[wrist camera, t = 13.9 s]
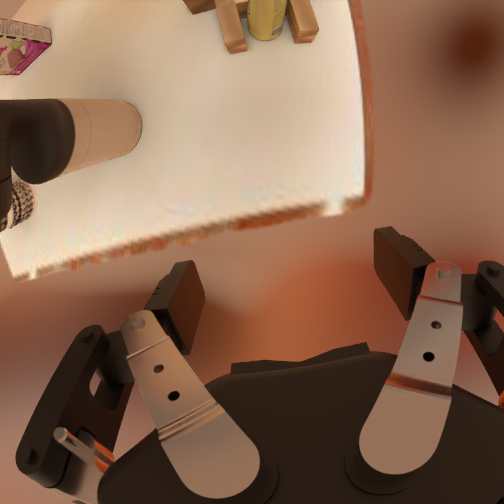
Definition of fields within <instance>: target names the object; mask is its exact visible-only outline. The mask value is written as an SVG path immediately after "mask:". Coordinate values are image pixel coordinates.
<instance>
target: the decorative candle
mask: <svg viewBox="0 0 504 504" xmlns="http://www.w3.org/2000/svg"><path fill="white" fill-rule="evenodd" d="M36 207H37V196H36V192H35V189H34V187H33V186H32V184H29V183H26V182H24V181H23V180H20V181H19V182H18V183H17V181H16V182H15V183H14V184H12V206H11V209H10V211H9V213H8V214H7V215H6V216H5V217H4V219H3V220H2V221H0V232H1V231H5V230H6V229H8V228H10V229H11V228H12V227H13V226H16V225H17V223H21V222H23V221H24V220H26V219H27V218H29V217H30V216H32V215H33V214H34V213H35V211H36Z"/></svg>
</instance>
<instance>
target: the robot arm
mask: <svg viewBox="0 0 504 504" xmlns="http://www.w3.org/2000/svg"><path fill="white" fill-rule="evenodd" d="M141 131H142V122H141V118H140V115H139V113H138V111H137V110H136V109H135V108H134V107H133V106H132V105H130V104H129V103H125V102H118V101H108V100H92V99H27V100H0V221H2V220H3V219H4V217H5V216H6V215H7V214H8V213H9V211H10V209H11V206H12V178H11V166H12V168H13V170H14V171H15V173H16V174H17V176H18V177H19V178H20V179H21V180H23V181H24V182H26V183H29V184H41V183H44V182H47V181H49V180H52V179H54V178H57V177H59V176H62V175H64V174H67V173H70V172H72V171H75V170H78V169H81V168H84V167H87V166H90V165H93V164H96V163H99V162H102V161H106V160H109V159H113V158H116V157H119V156H122V155H125V154H127V153H128V152H130V151H131V150H132V149H133V148H134V147H135V146H136V144H137V143H138V140H139V138H140V135H141ZM374 268H375V271H376V274H377V276H378V277H379V279H380V280H381V282H382V283H383V285H384V286H385V288H386V289H387V291H388V293H389V294H390V296H391V297H392V299H393V301H394V302H395V304H396V305H397V307H398V309H399V310H400V312H401V314H402V315H403V317H404V318H405V320H406V321H408V320H410V323H409V327H408V330H407V332H406V336H405V338H404V341H403V344H402V346H401V349H400V352H399V354H398V356H397V355H395V354H391V353H386V352H377V351H370V350H369V348H368V345H367V343H366V342H365V343H360V344H355V345H351V346H346V347H341V348H337V349H333V350H331V351H328V352H326V353H323V354H320V355H318V356H315V357H313V358H310V359H307V360H304V361H301V362H289V361H273V360H259V361H250V362H240V363H232V365H231V373H229V374H226V375H223V376H221V377H219V378H216V379H214V380H212V381H211V382H209V383H207V384H206V385H203V384H202V383H201V382H200V380H199V379H198V378H197V376H196V375H195V373H194V372H193V371H192V369H191V368H190V367H189V365H188V364H187V362H186V361H185V359H184V358H183V357H182V355H190V352H191V349H192V345H193V342H194V338H195V335H196V331H197V328H198V324H199V320H200V317H201V314H202V310H203V307H204V303H205V293H204V289H203V286H202V283H201V280H200V278H199V275H198V272H197V269H196V266H195V263H194V262H193V261H192V260H189V261H183V262H177V263H175V265H174V266H173V268H172V270H171V272H170V274H169V275H166V276H165V277H164V278H163V279H162V280H160V281H159V283H158V285H157V287H156V288H155V289H156V290H154V292H153V294H152V296H151V297H150V299H149V300H148V302H147V304H146V306H145V307H144V309H143V310H142V311H138V312H135V313H133V314H131V315H129V316H128V317H127V318H126V319H125V320H124V321H123V322H122V324H121V326H120V330H118V331H115V332H112V333H108V334H106V333H105V332H104V330H103V328H102V327H101V326H100V325H91V326H88V327H86V328H85V329H83V330H82V331H81V332H79V334H78V335H77V336H76V337H75V339H74V341H73V342H72V344H71V345H70V347H69V349H68V350H67V352H66V354H65V356H64V357H63V359H62V360H61V362H60V364H59V366H58V367H57V369H56V371H55V372H54V374H53V376H52V378H51V380H50V382H49V383H48V385H47V387H46V389H45V391H44V393H43V395H42V397H41V399H40V400H39V402H38V404H37V406H36V408H35V410H34V413H33V415H32V417H31V419H30V421H29V423H28V426H27V428H26V430H25V432H24V434H23V437H22V439H21V441H20V444H19V446H18V449H17V452H16V464H17V467H18V469H19V470H20V471H21V472H22V473H24V474H25V475H27V476H28V477H30V478H31V479H33V480H34V481H36V482H37V483H39V484H40V485H41V486H42V487H44V488H46V489H47V490H49V491H51V492H53V493H55V494H56V495H58V496H60V497H62V498H64V499H66V500H69V501H72V502H74V503H76V504H504V332H503V331H502V330H501V328H500V327H499V325H498V324H497V323H496V321H495V320H494V318H495V315H496V312H497V310H499V312H500V313H501V314H502V316H503V317H504V266H503V265H501V264H499V263H497V262H494V261H483V262H480V263H479V265H478V268H477V273H476V274H461V271H460V269H459V268H458V267H457V266H455V265H453V264H451V263H448V262H443V261H438V262H436V261H435V260H434V259H433V258H432V257H431V256H430V255H429V254H428V253H427V252H425V251H424V250H423V249H422V248H421V247H420V246H418V244H417V243H416V242H415V241H414V240H413V239H411V238H409V237H406V236H404V235H400V234H399V233H398V232H397V231H396V230H395V229H393V228H392V227H391V226H389V227H383V228H377V229H375V230H374ZM461 330H463V331H464V333H465V334H466V336H467V338H468V339H469V341H470V343H471V344H472V346H473V347H474V349H475V351H476V353H477V355H478V356H479V358H480V360H481V361H482V364H483V365H484V367H485V369H486V371H487V373H488V375H489V376H490V378H491V381H492V383H493V385H494V387H495V389H496V391H497V393H498V395H499V400H498V406H496V405H494V404H492V403H490V402H488V401H486V400H484V399H482V398H480V397H478V396H476V395H474V394H472V393H470V392H468V391H466V390H464V389H462V388H460V387H458V386H457V385H455V384H453V378H454V373H455V368H456V363H457V357H458V350H459V343H460V335H461ZM94 372H96V374H97V375H98V376H99V378H100V379H101V382H100V384H99V386H98V388H97V391H96V393H95V396H94V397H93V396H92V394H91V392H90V388H89V385H90V380H91V379H92V377H93V374H94ZM134 382H136V384H137V387H138V389H139V391H140V394H141V396H142V398H143V401H144V403H145V405H146V407H147V410H148V412H149V414H150V416H151V418H152V420H153V422H154V424H155V426H156V428H155V429H154V430H153V431H152V432H151V433H150V434H149V435H147V436H146V437H145V438H144V439H143V440H141V441H140V442H139V443H138V444H136V445H135V446H134V447H133V448H132V449H130V450H129V451H128V452H127V453H125V454H124V455H123V456H121V457H120V458H119V459H118V460H116V461H115V459H114V455H113V450H114V446H115V442H116V439H117V436H118V432H119V429H120V426H121V422H122V419H123V416H124V412H125V409H126V406H127V403H128V400H129V397H130V394H131V390H132V387H133V385H134Z"/></svg>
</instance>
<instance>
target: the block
mask: <svg viewBox="0 0 504 504" xmlns="http://www.w3.org/2000/svg"><path fill="white" fill-rule="evenodd" d="M214 1H215V5H216V9H217V13H218V17H219V21H220V25H221V29H222V33H223V37H224V41H225V44H226V46H227V48H228V50H229V53H230V54H233V53H238V52H243V51H247V47H246V42H245V38H244V34H243V30H242V26H241V22H240V19H241V18H247V15H248V0H214ZM285 12H286V15H287V18H288V22H289V25H290V29H291V32H292V36H293V39H294V43H295V44H298V43H311V42H312V40H313V39H314V37H315V36H316V34H317V32H318V31H319V28H318V25H317V21H316V18H315V15H314V12H313V9H312V6H311V3H310V0H286V7H285Z"/></svg>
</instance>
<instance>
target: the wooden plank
mask: <svg viewBox="0 0 504 504" xmlns="http://www.w3.org/2000/svg"><path fill="white" fill-rule="evenodd" d="M183 1H184V2H185V4H186V5H187V7H188V8H189V10H190V11H191V12H192V14H193V15H194V14H197V13H201V12H204V11H208V10H212V9H216V5H215V1H214V0H183Z"/></svg>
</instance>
